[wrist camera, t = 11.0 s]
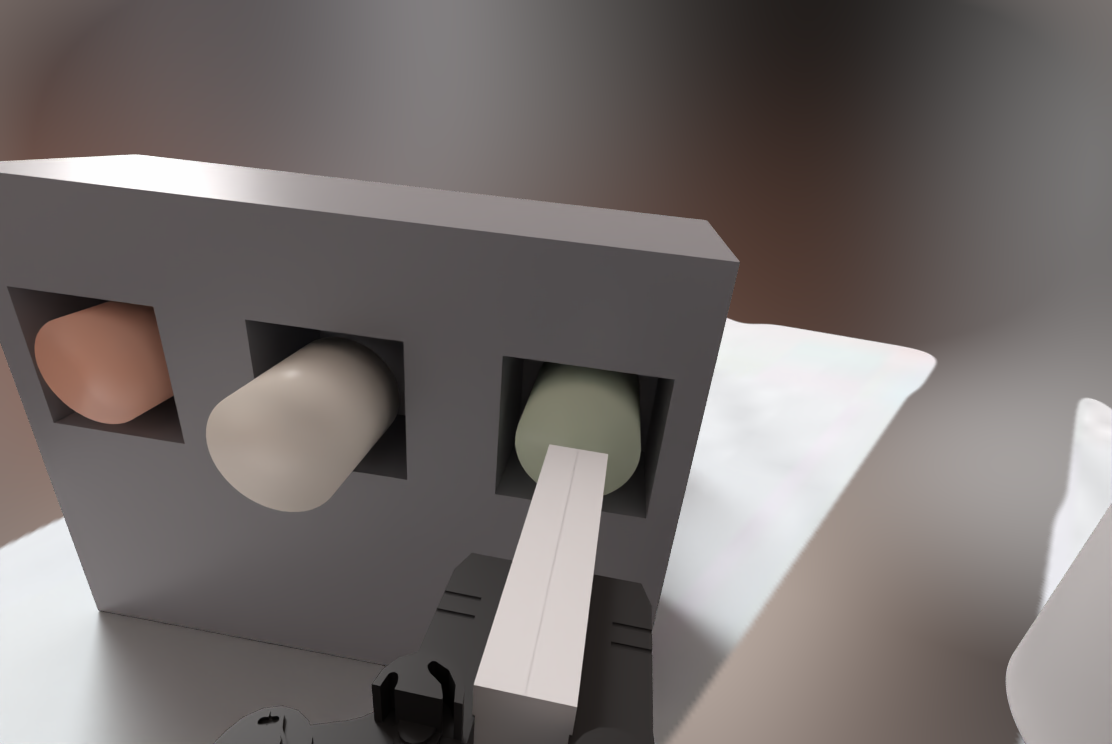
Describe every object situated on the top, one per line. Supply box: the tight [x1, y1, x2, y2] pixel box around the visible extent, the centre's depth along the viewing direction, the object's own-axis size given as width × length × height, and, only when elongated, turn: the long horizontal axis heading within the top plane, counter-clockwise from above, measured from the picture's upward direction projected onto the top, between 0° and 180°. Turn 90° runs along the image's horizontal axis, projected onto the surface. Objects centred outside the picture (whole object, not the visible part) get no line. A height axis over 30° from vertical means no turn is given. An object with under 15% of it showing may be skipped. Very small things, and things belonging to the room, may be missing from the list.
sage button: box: [515, 362, 641, 495], centre depth 18 cm, size 4×4×4 cm
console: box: [0, 155, 740, 666], centre depth 22 cm, size 23×7×18 cm, turn 83°
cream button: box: [206, 337, 400, 512], centre depth 16 cm, size 4×4×4 cm
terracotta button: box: [35, 301, 174, 424], centre depth 19 cm, size 4×4×4 cm
